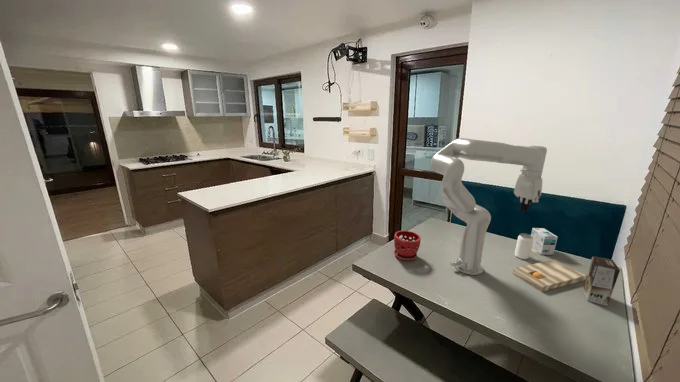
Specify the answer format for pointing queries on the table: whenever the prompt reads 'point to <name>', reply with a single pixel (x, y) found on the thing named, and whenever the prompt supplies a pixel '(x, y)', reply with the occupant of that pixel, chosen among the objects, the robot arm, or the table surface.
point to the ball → (538, 275)
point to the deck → (548, 275)
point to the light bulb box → (543, 241)
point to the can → (524, 246)
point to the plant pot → (406, 245)
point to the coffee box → (600, 280)
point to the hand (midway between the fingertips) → (523, 210)
